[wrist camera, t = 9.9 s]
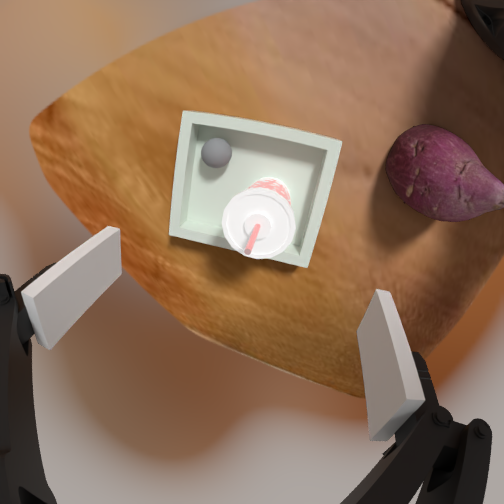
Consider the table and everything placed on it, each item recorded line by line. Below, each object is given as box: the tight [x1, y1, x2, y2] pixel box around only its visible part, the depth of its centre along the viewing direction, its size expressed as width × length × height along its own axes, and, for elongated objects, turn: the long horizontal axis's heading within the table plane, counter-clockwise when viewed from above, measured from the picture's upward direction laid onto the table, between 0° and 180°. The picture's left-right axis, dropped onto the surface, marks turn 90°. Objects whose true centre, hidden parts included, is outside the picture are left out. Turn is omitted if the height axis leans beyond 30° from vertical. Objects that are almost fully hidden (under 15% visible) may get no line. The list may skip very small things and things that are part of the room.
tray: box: [169, 111, 342, 268], centre depth 32 cm, size 16×14×4 cm
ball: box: [201, 138, 232, 168], centre depth 30 cm, size 3×3×3 cm
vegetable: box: [386, 124, 504, 222], centre depth 23 cm, size 10×10×15 cm
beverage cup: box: [222, 177, 296, 259], centre depth 26 cm, size 6×6×14 cm
